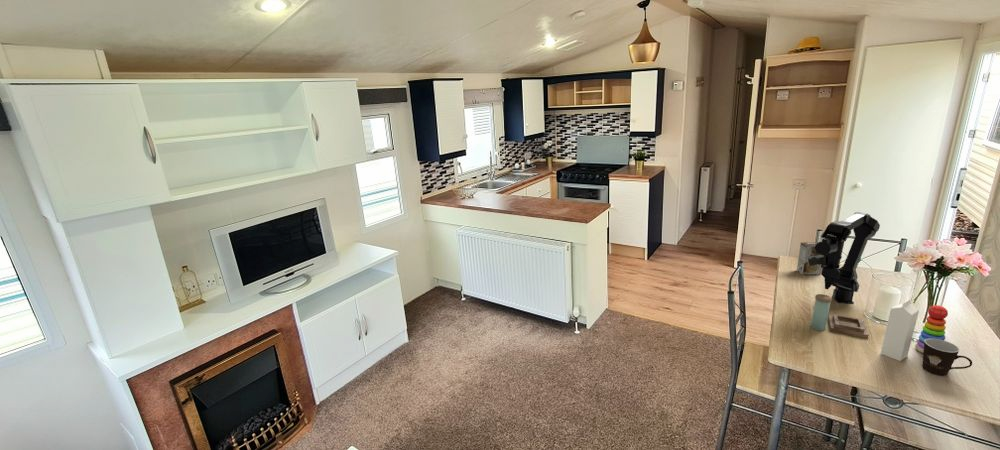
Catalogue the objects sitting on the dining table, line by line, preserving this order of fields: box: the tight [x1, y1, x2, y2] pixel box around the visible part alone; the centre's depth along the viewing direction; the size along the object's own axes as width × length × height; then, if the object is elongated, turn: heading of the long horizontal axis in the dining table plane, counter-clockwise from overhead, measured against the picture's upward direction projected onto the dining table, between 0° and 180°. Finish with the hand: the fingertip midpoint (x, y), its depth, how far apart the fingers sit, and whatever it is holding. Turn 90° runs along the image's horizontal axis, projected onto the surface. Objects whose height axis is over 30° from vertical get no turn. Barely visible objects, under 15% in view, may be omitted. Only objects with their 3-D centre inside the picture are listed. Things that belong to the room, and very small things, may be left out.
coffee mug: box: [921, 338, 973, 377], centre depth 150 cm, size 12×9×10 cm
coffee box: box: [796, 241, 822, 276], centre depth 232 cm, size 9×6×16 cm
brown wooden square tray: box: [827, 313, 869, 339], centre depth 181 cm, size 12×12×3 cm
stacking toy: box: [914, 304, 949, 354], centre depth 161 cm, size 8×8×19 cm
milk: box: [880, 299, 920, 362], centre depth 159 cm, size 6×6×22 cm
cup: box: [810, 293, 833, 332], centre depth 181 cm, size 5×5×14 cm
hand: (826, 285), depth 192 cm, fingers open, 9 cm apart
